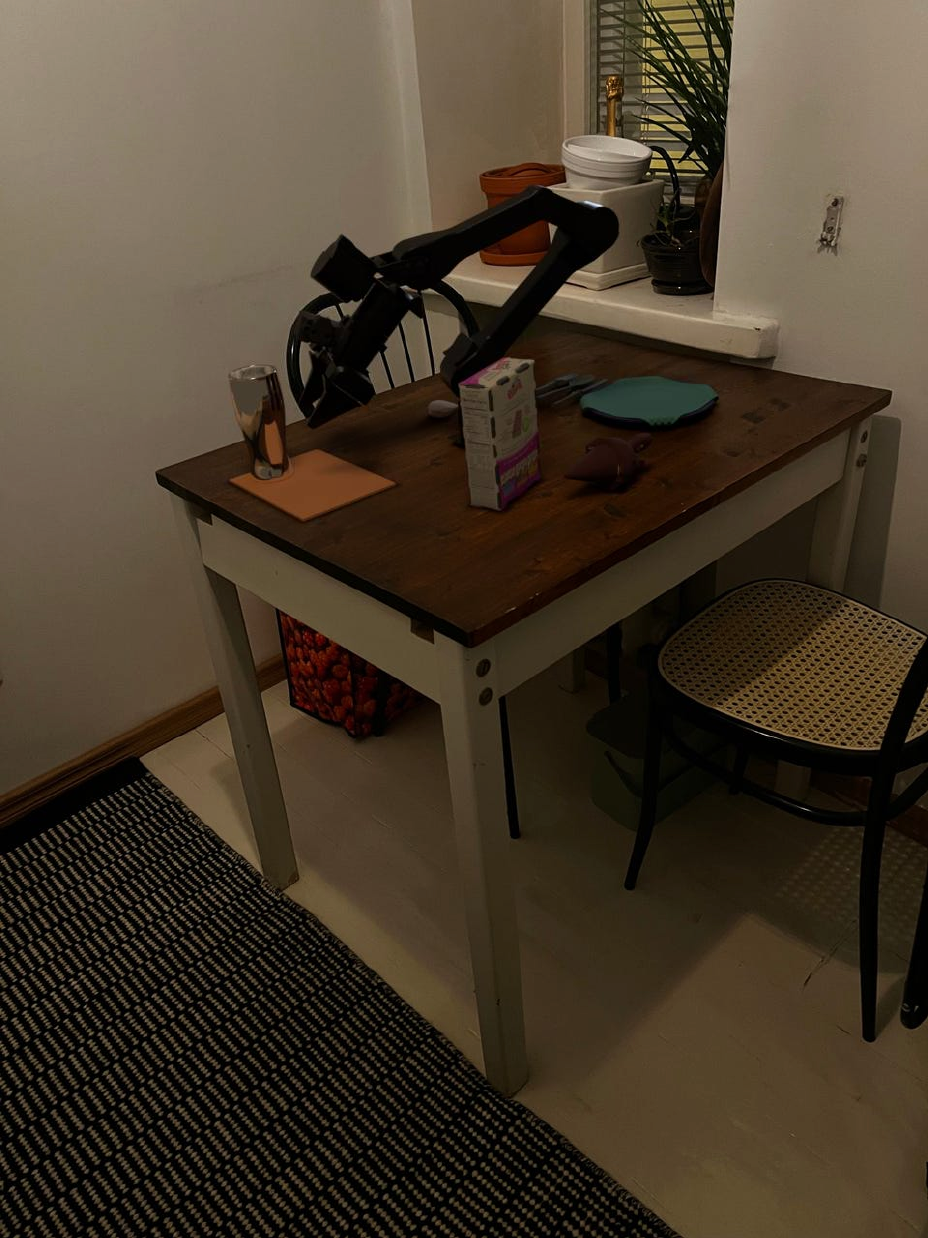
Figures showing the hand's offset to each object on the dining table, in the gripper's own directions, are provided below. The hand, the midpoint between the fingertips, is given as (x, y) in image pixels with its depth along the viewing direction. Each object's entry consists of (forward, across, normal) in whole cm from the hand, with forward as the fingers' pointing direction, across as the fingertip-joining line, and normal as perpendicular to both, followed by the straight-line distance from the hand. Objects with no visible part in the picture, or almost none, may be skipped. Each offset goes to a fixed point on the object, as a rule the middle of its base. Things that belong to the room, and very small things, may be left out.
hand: (305, 417), depth 132 cm
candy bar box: (-10, +19, +22) cm, 31 cm away
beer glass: (+10, -1, +2) cm, 10 cm away
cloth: (+7, +4, +5) cm, 9 cm away
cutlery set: (-29, -6, +42) cm, 51 cm away
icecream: (-19, +23, +31) cm, 43 cm away
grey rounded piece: (-10, -14, +23) cm, 29 cm away
